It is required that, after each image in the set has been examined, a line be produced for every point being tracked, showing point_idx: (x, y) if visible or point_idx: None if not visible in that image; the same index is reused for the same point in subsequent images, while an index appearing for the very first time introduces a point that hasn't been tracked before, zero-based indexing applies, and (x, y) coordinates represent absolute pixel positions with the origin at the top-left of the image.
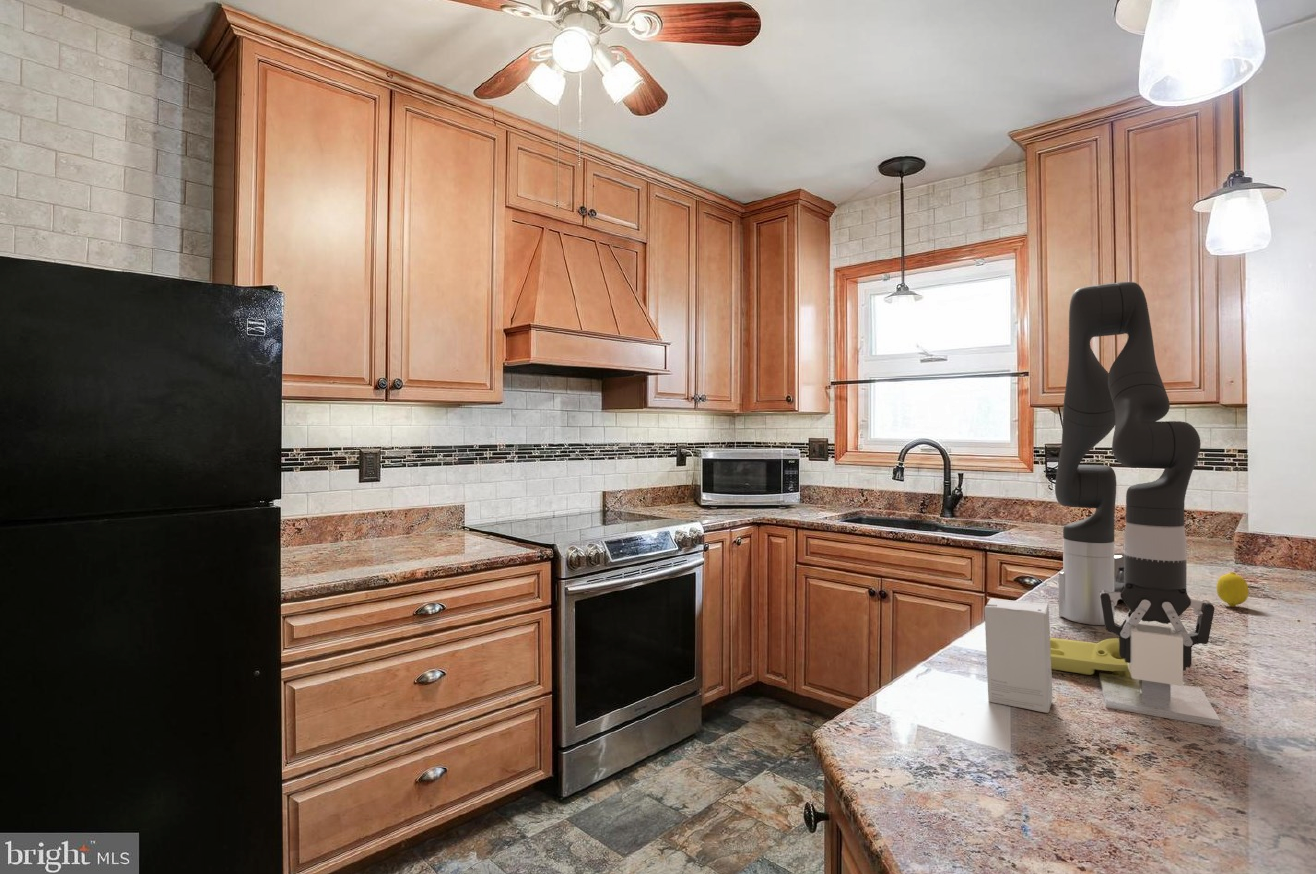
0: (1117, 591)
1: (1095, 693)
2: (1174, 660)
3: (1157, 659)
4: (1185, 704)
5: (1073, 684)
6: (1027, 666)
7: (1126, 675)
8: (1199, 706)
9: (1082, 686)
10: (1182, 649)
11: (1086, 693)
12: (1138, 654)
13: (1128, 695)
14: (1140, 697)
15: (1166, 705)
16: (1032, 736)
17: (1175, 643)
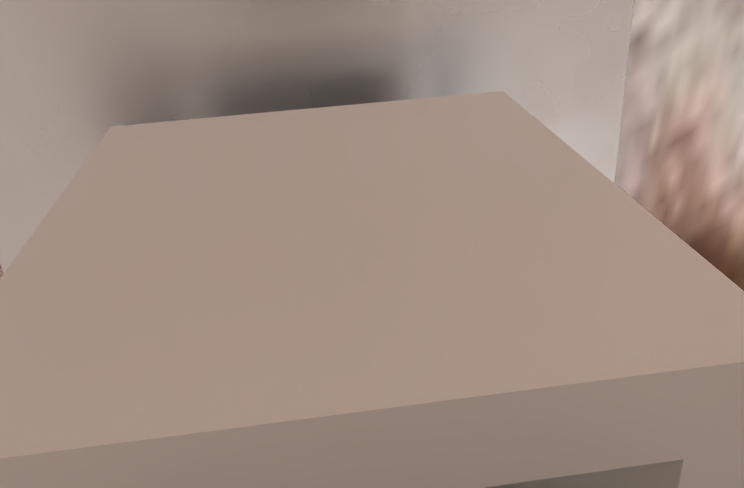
0: None
1: (638, 125)
2: (134, 222)
3: (321, 195)
4: (129, 120)
5: (735, 214)
6: None
7: None
8: (44, 135)
9: (690, 209)
10: None
11: (693, 90)
12: (533, 181)
13: (477, 80)
14: (404, 89)
15: (244, 12)
16: None
17: (54, 365)
